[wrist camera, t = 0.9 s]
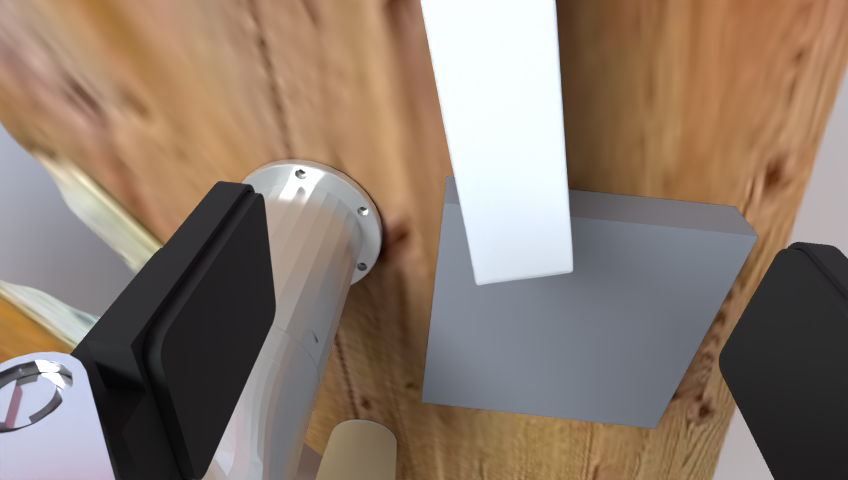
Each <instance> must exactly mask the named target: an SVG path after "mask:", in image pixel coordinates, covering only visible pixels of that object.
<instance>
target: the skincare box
mask: <svg viewBox="0 0 848 480" xmlns="http://www.w3.org/2000/svg"><path fill="white" fill-rule="evenodd" d="M421 6H422V11H423V17H424V22H425V28H426V33H427V38H428V43H429V49H430V54H431V59H432V64H433V70H434V75H435V80H436V85H437V91H438V96H439V101H440V106H441V112H442V117H443V122H444V127H445V133H446V138H447V143H448V148H449V153H450V157H451V162H452V167H453V172H454V177H455V182H456V187H457V191H458V196H459V201H460V206H461V211H462V216H463V221H464V225H465V231H466V236H467V241H468V246H469V251H470V256H471V262H472V267H473V273H474V278H475V282H476V284H477V285H483V284H488V283H496V282H504V281H511V280H519V279H528V278H536V277H543V276H550V275H557V274H564V273H570V272H572V271H573V251H572V235H571V223H570V209H569V194H568V180H567V166H566V151H565V135H564V120H563V104H562V88H561V73H560V58H559V43H558V27H557V12H556V0H421Z"/></svg>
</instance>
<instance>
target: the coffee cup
mask: <svg viewBox="0 0 848 480" xmlns="http://www.w3.org/2000/svg"><path fill="white" fill-rule="evenodd" d="M396 457H397V441H396V438H395V436H394V434H393V433H392V432H391V431H390V430H389V429H388V428H386V427H385V426H383V425H381V424H379V423H376V422H373V421H369V420H360V419H355V420H348V421H345V422H342V423H340V424H338V425H337V426H336V427H335V428H334V429H333V431H332V433H331V435H330V438H329V441H328V443H327V446H326V449H325V452H324V455H323V458H322V461H321V464H320V467H319V470H318V473H317V476H316V479H315V480H395V474H396Z"/></svg>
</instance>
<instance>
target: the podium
mask: <svg viewBox="0 0 848 480" xmlns="http://www.w3.org/2000/svg"><path fill="white" fill-rule="evenodd" d="M568 194H569V209H570V223H571V235H572V251H573V271H572V272H570V273H564V274H557V275H550V276H543V277H536V278H528V279H519V280H511V281H504V282H496V283H488V284H483V285H477V284H476V282H475V278H474V273H473V267H472V262H471V256H470V251H469V246H468V241H467V236H466V231H465V225H464V221H463V216H462V211H461V206H460V201H459V196H458V191H457V187H456V182H455V177H448V176H446V185H445V194H444V202H443V211H442V220H441V229H440V238H439V246H438V255H437V264H436V273H435V282H434V290H433V299H432V308H431V317H430V326H429V334H428V343H427V352H426V361H425V370H424V380H423V390H422V400H421V402H422V403H431V404H439V405H448V406H457V407H466V408H475V409H484V410H492V411H501V412H510V413H519V414H528V415H536V416H545V417H554V418H563V419H572V420H581V421H589V422H598V423H607V424H616V425H625V426H634V427H642V428H651V429H655V428H656V426H657V424H658V422H659V421H660V419H661V417H662V415H663V413H664V411H665V409H666V408H667V406H668V404H669V402H670V400H671V398H672V396H673V394H674V393H675V391H676V389H677V387H678V385H679V383H680V381H681V380H682V378H683V376H684V374H685V372H686V370H687V368H688V366H689V365H690V363H691V361H692V359H693V357H694V355H695V353H696V352H697V350H698V348H699V346H700V344H701V342H702V340H703V338H704V337H705V335H706V333H707V331H708V329H709V327H710V325H711V324H712V322H713V320H714V318H715V316H716V314H717V312H718V311H719V309H720V307H721V305H722V303H723V301H724V299H725V297H726V296H727V294H728V292H729V290H730V288H731V286H732V284H733V283H734V281H735V279H736V277H737V275H738V273H739V271H740V269H741V268H742V266H743V264H744V262H745V260H746V258H747V256H748V255H749V253H750V251H751V249H752V247H753V245H754V243H755V241H756V240H757V238H758V235H757V234H756V233H755V231H754V230H753V229H752V228H751V226H750V225H749V224H748V222H747V221H746V220H745V219H744V217H743V216H742V215H741V214H740V212H739V211H738V210H737V208H736V207H734V206H725V205H715V204H706V203H696V202H687V201H677V200H668V199H658V198H649V197H639V196H629V195H620V194H610V193H601V192H591V191H582V190H572V189H568Z"/></svg>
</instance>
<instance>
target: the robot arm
mask: <svg viewBox="0 0 848 480" xmlns="http://www.w3.org/2000/svg"><path fill="white" fill-rule="evenodd" d="M302 170H304V171H305V172H304V171H302ZM363 207H364V208H363ZM381 244H382V225H381V220H380V216H379V214H378V211H377V209H376V207H375V205H374V203H373V202H372V200H371V199H370V197H369V196H368V194H367V193H366V192H365V191H364V190H363V189H362V188H361V187H360V186H359V185H358V184H357V183H356V182H355V181H353V180H352V179H351V178H349V177H348V176H347V175H345V174H344V173H342V172H340V171H338V170H336V169H334V168H332V167H330V166H327V165H324V164H321V163H318V162H314V161H307V160H300V159H293V160H281V161H276V162H271V163H268V164H266V165H264V166H262V167H259V168H257V169H256V170H255V171H253V172H252V173H251V174H249V175H248V176H247V177H246V178H245V179H244V180H243V182H242V183H233V182H223V181H219V182H217V183H216V184H215V185H214V186H213V188H212V189H211V190H210V191H209V192H208V194H207V195H206V196H205V197H204V198H203V200H202V201H201V202H200V203H199V204H198V206H197V207H196V208H195V209H194V210H193V212H192V213H191V214H190V215H189V216H188V218H187V219H186V220H185V221H184V223H183V224H182V225H181V226H180V227H179V229H178V230H177V231H176V232H175V233H174V235H173V236H172V237H171V238H170V239H169V241H168V242H167V243H166V244H165V245H164V247H163V248H160V249H159V250H158V251H157V252H156V253H155V254H154V255H153V256H152V257H151V258H150V260H149V261H148V262H147V263H146V264H145V266H144V267H143V268H142V269H141V270H140V272H139V273H138V274H137V275H136V276H135V278H134V279H133V280H132V281H131V282H130V284H129V285H128V286H127V287H126V289H125V290H124V291H123V292H122V293H121V294H120V295H119V297H118V298H117V299H116V300H115V302H114V303H113V304H112V305H111V306H110V307H109V309H108V310H107V311H106V312H105V314H104V315H103V316H102V317H101V318H100V319H99V321H98V322H97V323H96V324H95V325H94V327H93V328H92V329H91V330H90V331H89V332H88V334H87V335H86V336H85V337H84V338H83V340H82V341H81V342H80V343H79V344H78V346H77V347H76V348H75V349H74V350H73V352H72V353H71V354H70V355H69V354H63V353H58V352H39V353H32V354H28V355H24V356H20V357H16V358H13V359H11V360H8V361H6V362H4V363H1V364H0V480H296V474H297V469H298V464H299V461H300V456H301V451H302V447H303V443H304V440H305V436H306V432H307V429H308V425H309V421H310V418H311V414H312V411H313V407H314V404H315V401H316V397H317V394H318V391H319V388H320V385H321V381H322V378H323V375H324V371H325V368H326V365H327V361H328V358H329V355H330V351H331V348H332V345H333V341H334V338H335V335H336V331H337V328H338V325H339V321H340V318H341V315H342V311H343V308H344V305H345V301H346V298H347V294H348V291H349V288H350V286H351V285H352V284H354V283H356V282H358V281H360V280H361V279H362V278H363V277H364V276H365V275H366V274H368V273H369V271H370V270H371V269H372V267H373V266H374V264H375V263H376V260H377V258H378V255H379V253H380V249H381ZM719 368H720V371H721V374H722V376H723V378H724V380H725V382H726V384H727V386H728V388H729V390H730V392H731V394H732V396H733V398H734V400H735V402H736V404H737V406H738V408H739V409H740V412H741V414H742V416H743V418H744V420H745V422H746V423H747V426H748V428H749V430H750V431H751V434H752V436H753V437H754V440H755V442H756V444H757V446H758V448H759V449H760V452H761V453H762V456H763V458H764V459H765V462H766V464H767V466H768V468H769V469H770V471H771V474H772V476H773V478H774V480H848V259H847V257H846V256H844V254H843V253H842V252H841V251H840V250H839V249H837V248H836V247H834V246H831V245H823V244H814V243H804V242H796V243H793V244H791V245H790V246H789V247H788V248H787V249H782V250H781V251H779V252H778V253H777V255H776V256H775V258H774V260H773V261H772V263H771V265H770V267H769V268H768V270H767V272H766V274H765V275H764V277H763V279H762V281H761V282H760V284H759V286H758V288H757V289H756V291H755V293H754V295H753V296H752V298H751V300H750V302H749V303H748V305H747V307H746V309H745V310H744V312H743V314H742V316H741V318H740V319H739V321H738V323H737V325H736V326H735V328H734V330H733V332H732V333H731V335H730V337H729V339H728V340H727V342H726V344H725V346H724V347H723V349H722V351H721V353H720V356H719Z"/></svg>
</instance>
